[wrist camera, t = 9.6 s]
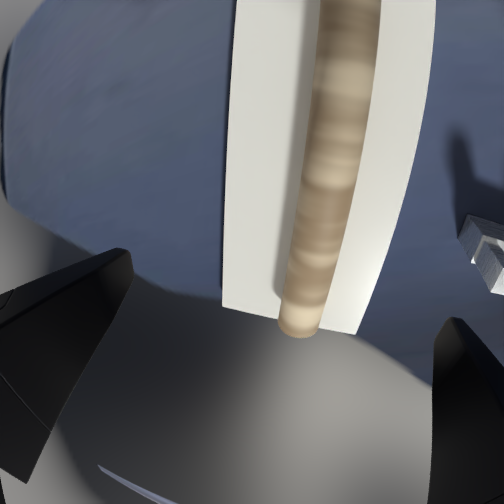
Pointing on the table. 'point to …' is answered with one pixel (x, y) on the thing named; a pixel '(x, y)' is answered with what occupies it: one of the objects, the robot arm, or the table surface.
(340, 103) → the beech dowel
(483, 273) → the aluminium cradles
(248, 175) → the cutting board
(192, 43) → the table surface
